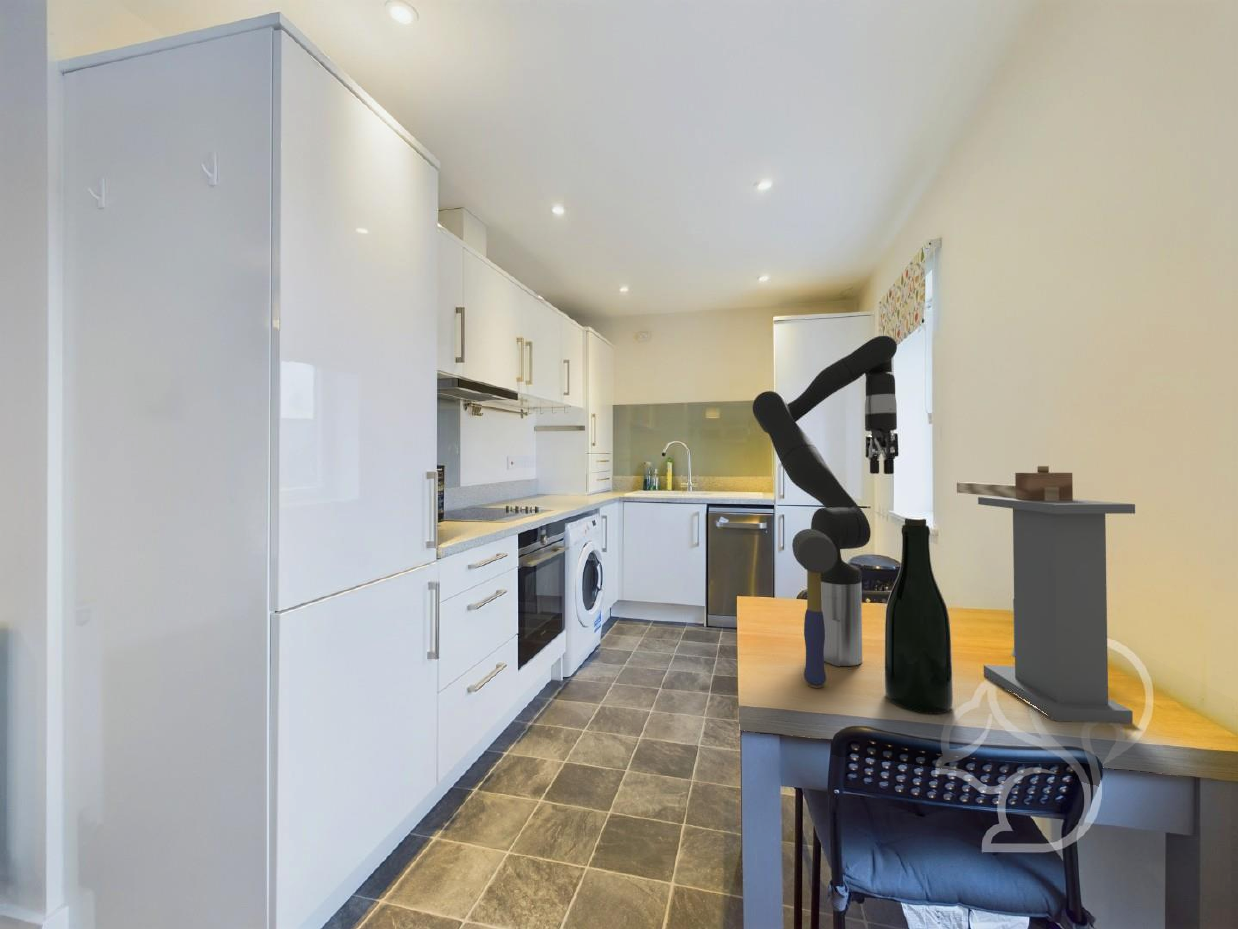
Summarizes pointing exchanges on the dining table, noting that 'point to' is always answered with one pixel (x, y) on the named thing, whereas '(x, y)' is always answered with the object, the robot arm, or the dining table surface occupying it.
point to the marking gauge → (1027, 486)
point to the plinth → (1060, 608)
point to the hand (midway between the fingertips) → (881, 473)
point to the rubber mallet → (814, 598)
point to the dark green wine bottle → (917, 630)
